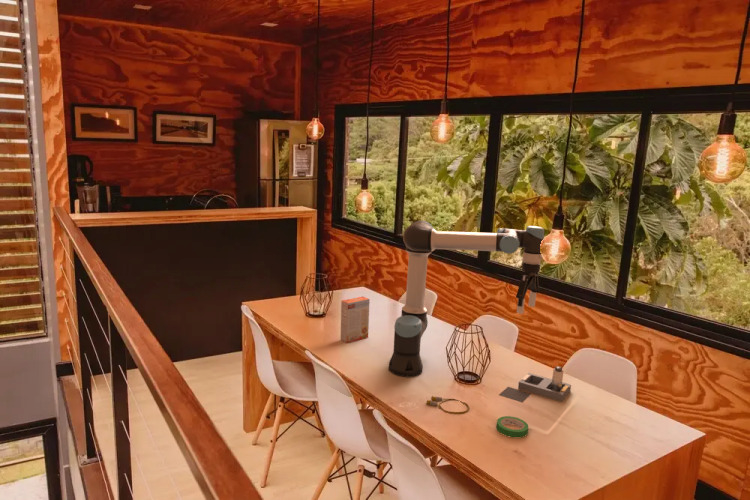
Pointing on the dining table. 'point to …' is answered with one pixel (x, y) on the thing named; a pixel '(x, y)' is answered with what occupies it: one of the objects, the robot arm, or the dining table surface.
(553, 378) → the plug
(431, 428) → the dining table surface
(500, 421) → the tape roll
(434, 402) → the looped connector cable
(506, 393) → the plate
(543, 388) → the socket block
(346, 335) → the cracker box
